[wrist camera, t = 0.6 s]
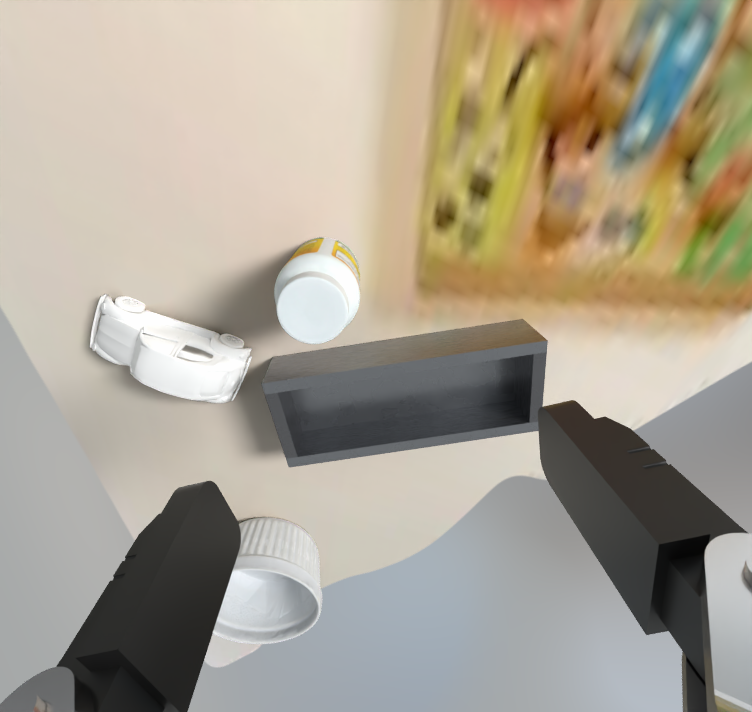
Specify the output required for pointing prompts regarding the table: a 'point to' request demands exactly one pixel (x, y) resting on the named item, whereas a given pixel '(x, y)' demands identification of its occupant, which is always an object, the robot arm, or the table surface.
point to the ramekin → (271, 584)
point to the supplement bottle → (318, 291)
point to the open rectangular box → (407, 392)
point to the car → (169, 351)
